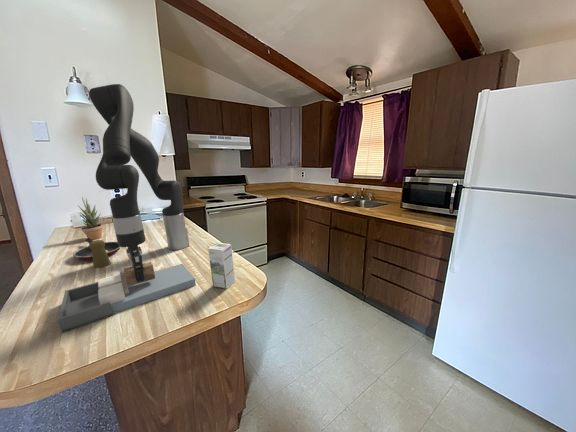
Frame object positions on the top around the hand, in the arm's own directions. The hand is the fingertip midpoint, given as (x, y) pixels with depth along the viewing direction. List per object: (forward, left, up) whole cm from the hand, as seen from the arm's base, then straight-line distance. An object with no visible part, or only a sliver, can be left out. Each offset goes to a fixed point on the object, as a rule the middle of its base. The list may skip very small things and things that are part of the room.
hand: (139, 278), depth 80 cm
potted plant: (+14, -84, -5) cm, 85 cm away
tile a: (+8, +3, -2) cm, 9 cm away
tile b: (+8, -4, -2) cm, 9 cm away
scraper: (0, 0, -1) cm, 1 cm away
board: (-3, 0, -5) cm, 6 cm away
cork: (+11, -36, -5) cm, 38 cm away
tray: (+14, 0, -5) cm, 15 cm away
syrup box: (-23, +14, -5) cm, 28 cm away
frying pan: (+13, -58, -5) cm, 60 cm away
